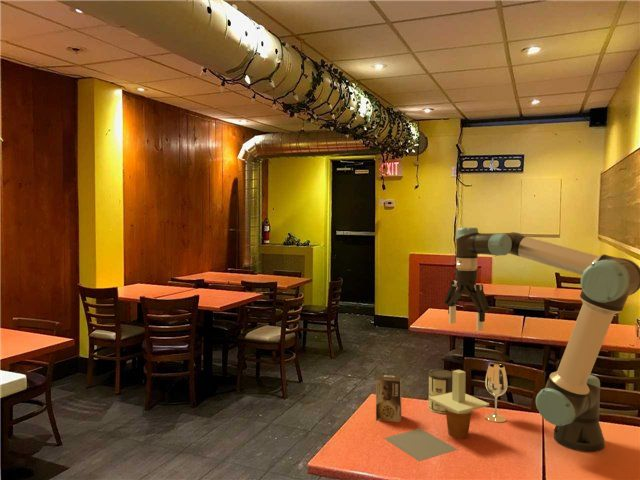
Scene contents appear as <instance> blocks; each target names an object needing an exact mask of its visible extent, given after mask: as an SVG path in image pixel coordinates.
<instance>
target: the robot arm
mask: <svg viewBox="0 0 640 480" xmlns="http://www.w3.org/2000/svg"><path fill="white" fill-rule="evenodd" d="M455 240H456V246H455V247H456V255H455V256H456V257H455V259H456V260H455V262H456V263H455V268H456V270H455V279H456V280H455V279H454V280H450V282H449V283H450V284H449V285H450V286H449V288H448V291H447V293H446V295H445V298H444V300H443V303H444V304H446V305H447V313H448V324H450V325H453V324H456V323H457V322H456V321H457V306H456V303H457V301H458V300H459V299H460V298H461V296H462V295H465V296H468V297H469V298H470V299H471V301H472V303H473V305H474V306H475V308H476V310H477V312H476V320H475V321H476V324H475V325H476V328H475V329H476V332H481V331H484V322H485V320H486V319H485V318H486V313H487V312H490V311H491V308H490V305H489V303H488V300H487V296H486V295H485V292H484V285H483V283H481V284H479V283H478V284H477V280H478V271H477V269H478V255H490V256H496V257H497V256H506V255H508V254H510V255H512V256H513V255H514V256H516V257H520V258H525V259H527V260H530V261H533V262H537V263H540V264H544V265H547V266H550V267H554V268H557V269H558V270H559V269H560V270H562V271H566V272H570V273H573V274H576V275H579V276H581V277H580V287H581V292H580V295H579V299H580V300H581V302H582V305H581V308H580V310H579V313H578V316H577V317H576V321H575V324H574V326H573V329H572V331H571V334H570V337H569V339H568V342H567V345H566V347H565V349H564V352H563V355H562V357H561V360H560V363H559V366H558V368H557V370H556V371H554V372H551V373H550V374H549V377H548V379H547V381H546V384H545V387H544V388H542V389H540V390H539V392H538V393H537V395H536V396H535V406H536V409H537V411H538V412H539V414H540V416H541V417H542V418H543V419H544V420H545V421H546V422H548V423H549V424H551V425H554V429H553V440H554V441H555V442H557V444H558V445H561V446H563V447H566V448H568V449H571V450H573V451H574V450H575V451H579V452H588V453H589V452H592V453H593V452H600V451H603V450H604V448H605V437H604V433H603V430H602V427H601V425H600V402H601V401H600V399H601V395H600V394H601V382H600V379H599V378H598V377H597V376H596V375H592V370H593V368H594V367H595V366H594V365H595V363H596V361H597V359H598V356H599V353H600V350H601V348H602V345H603V344H604V340H605V338H606V335H607V333H608V331H609V328H610V325H611V323H612V321H613V319H614V316H615V315H616V314H618V313H619V314H620V313H622V312H623V310H624V307H625V305H626V303H627V300H628V297H629V296H631V295H634V294H636V293H637V292H638V291H639V290H640V266H639V264H638V263H636V262H634V261H632V260H630V259H627V258H623V257H619V256H612V255H608V254H601V255H595V254H592V253H588V252H584V251H581V250H577V249H573V248H569V247H566V246H562V245H558V244H556V243H552V242H547V241H544V240H541V239H536V238H533V237H528V236H525V235H524V234H522V233H520V232H514V231H513V232H501V233H500V232H499V233H498V232H497V233H496V232H494V233H493V232H490V233H484V232H483V233H482V232H479V229H478V227H467V226H466V227H465V226H464V227H458V228H457V229H456V238H455Z"/></svg>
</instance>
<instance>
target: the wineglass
mask: <svg viewBox="0 0 640 480" xmlns="http://www.w3.org/2000/svg"><path fill="white" fill-rule="evenodd" d="M484 385H485V389H486V391H487V392H488V393H489V394H490V395H492V396H493V397H494V412H493V413H488V414H485V416H484V418H485V419H486V420H487V421H490V422H493V423H504V422H506V421H507V418H506V416H504V415H502V414H499V413H498V411H497V409H498V408H497V407H498V398H499V397H500V396H502V395H504V394H505V393H506V391H507V390H508V377H507V372H506V368H505V365H503V364H500V363H490V364H488V368H487V370H486V374H485V381H484Z"/></svg>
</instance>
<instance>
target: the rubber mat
mask: <svg viewBox="0 0 640 480" xmlns="http://www.w3.org/2000/svg"><path fill="white" fill-rule="evenodd" d="M383 439H384V440H386V441H387V442H388V443H390V444H391V445H394V446H395V447H396V448H397V449H399V450H401V451H402V452H404V453H406V454H407V455H409V456H411V458H414V459H415V460H416V461H418V462H421V461H424V460H427V459H431V458H435V457H438V456H440V455H444V454H447V453H451V452H454V451H457V450H459V449H458V448H457V447H454V446H453V445H452V444H450V443H448V442H446V441H444V440H442V439H440V438H439V437H437V436H435V435H433V434H431V432H430V433H429V432H428V431H426V430H424V429H422V428H416V429H414V430H408V431H406V432H402V433H397V434H394V435H391V436H390V435H389V436H386V437H383Z"/></svg>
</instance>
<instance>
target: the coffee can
mask: <svg viewBox="0 0 640 480" xmlns="http://www.w3.org/2000/svg"><path fill="white" fill-rule="evenodd" d="M452 379H453V371H451V370H447V369H431V370H429V371H428V398H429V397H433V396H438V395H442V394H447V393H451V392H452ZM427 408H428V410H430V411H431V412H433V413H437V414H445V415H446V409H445V407H443V406H441V405H439V404H437V403H435V402H432V401H430V400H429V399H428V407H427Z"/></svg>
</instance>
